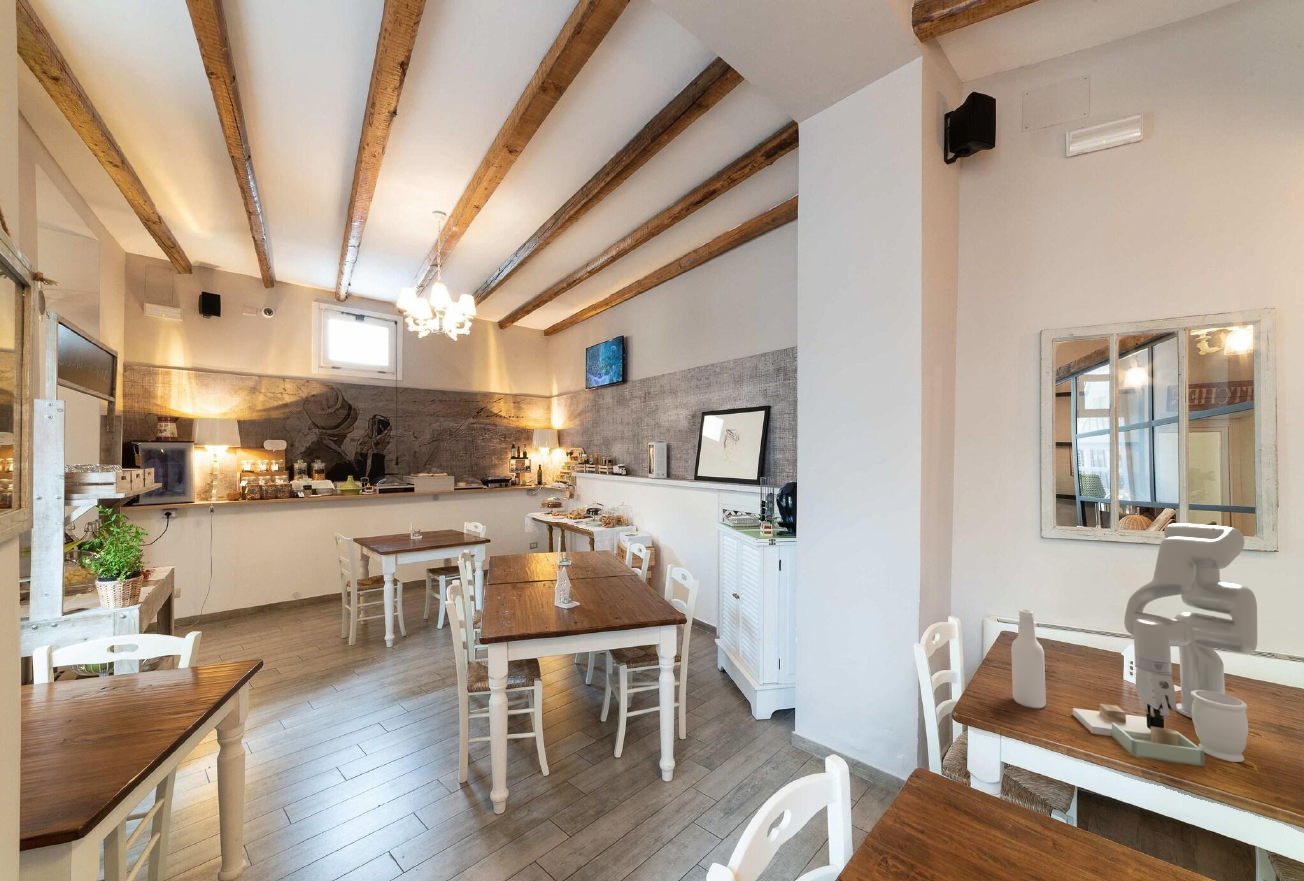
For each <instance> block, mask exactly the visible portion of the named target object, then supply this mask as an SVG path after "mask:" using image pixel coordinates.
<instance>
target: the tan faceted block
mask: <svg viewBox="0 0 1304 881" xmlns="http://www.w3.org/2000/svg"><path fill="white" fill-rule="evenodd" d="M1150 727H1151V742H1152V743H1160V744H1167V745H1174V746H1178V734H1177V733H1175V732H1174V731H1175V730H1173V729H1171V728H1166V727H1165V728H1160V727H1153V726H1150Z"/></svg>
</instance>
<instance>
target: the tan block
mask: <svg viewBox="0 0 1304 881" xmlns="http://www.w3.org/2000/svg"><path fill="white" fill-rule="evenodd" d="M1098 705H1099V706H1098V707H1099V710H1098V711H1099V712H1100V714H1101V715H1102V716H1103V717H1104V718H1105V719H1106V720H1108V721H1116V722H1123V723H1126V715H1127V714H1126V711H1124V710H1123V709H1122V708H1121V707H1119V706H1118V705H1114V704H1113V705H1112V704H1105V703H1099V704H1098Z"/></svg>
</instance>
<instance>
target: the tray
mask: <svg viewBox="0 0 1304 881" xmlns="http://www.w3.org/2000/svg"><path fill="white" fill-rule="evenodd" d="M1173 731H1174V732H1175V733H1177V734H1178V746H1174V745H1167V744H1160V743H1152V742H1151V740H1145V739H1138V738H1132V737H1131V736H1129V735H1128V734H1127V733H1126V732H1125V731H1124V730H1122V729H1121V728H1120V727H1119V726H1118V725H1117V724H1115V723H1112V736H1111V737H1112V738H1113V739H1114V740H1115V741H1116V742H1117V743H1119V745H1120V746H1121V747H1122V748H1124V749H1125V750H1126V751H1127V752H1128V753H1129V754H1130V755H1132V756H1133V757H1135V758H1144V759H1150V760H1156V761H1163V762H1171V763H1179V764H1185V765H1191V766H1198V767H1206V761H1205V752H1204V750H1202V749H1201V748H1199V745H1197V744H1195V743H1194V742H1193V741H1191V740H1190V739H1188V738H1187V737H1186V736H1185V735H1183V734H1182V733H1180V732H1179V731H1177V730H1173Z"/></svg>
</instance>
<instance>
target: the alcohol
mask: <svg viewBox="0 0 1304 881" xmlns="http://www.w3.org/2000/svg"><path fill="white" fill-rule="evenodd" d="M1018 616H1019V617H1018V618H1019V620H1018V634H1017V637H1016V638H1015V639H1014V640H1013V641H1012V643H1011V647H1010V648H1011V650H1010V653H1011V676H1012V680H1011V682H1012V698H1013V700H1014V701H1015V703H1017V704H1019V705H1021V706H1024V707H1027V708H1031V709H1043V708H1044V707H1045V706H1046V705H1047V702H1046V701H1047V700H1046V699H1047V698H1046V672H1045V671H1046V670H1045V667H1046V666H1045V651H1044V649H1043V646H1042V644H1041V643H1039V641H1038V639H1037V636H1036V628H1035V622H1034V617H1035V616H1034V612H1033V611H1032V610H1028V609H1019V610H1018Z"/></svg>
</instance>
